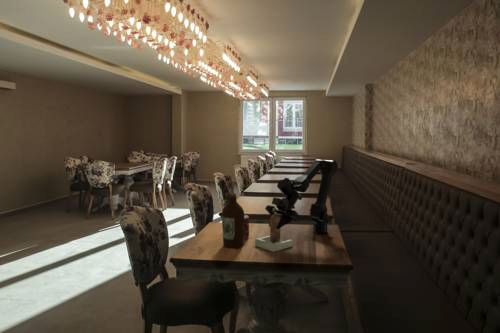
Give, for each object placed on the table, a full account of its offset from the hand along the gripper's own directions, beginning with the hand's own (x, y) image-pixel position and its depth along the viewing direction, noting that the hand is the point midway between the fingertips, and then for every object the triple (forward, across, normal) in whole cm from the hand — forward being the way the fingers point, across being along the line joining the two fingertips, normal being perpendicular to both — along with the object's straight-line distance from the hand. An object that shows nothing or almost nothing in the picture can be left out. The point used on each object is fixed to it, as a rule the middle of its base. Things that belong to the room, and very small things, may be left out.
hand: (273, 227), depth 183 cm
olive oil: (+16, -13, -3) cm, 21 cm away
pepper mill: (+4, 0, +6) cm, 7 cm away
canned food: (+8, -21, +5) cm, 23 cm away
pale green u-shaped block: (+6, 0, +7) cm, 9 cm away
